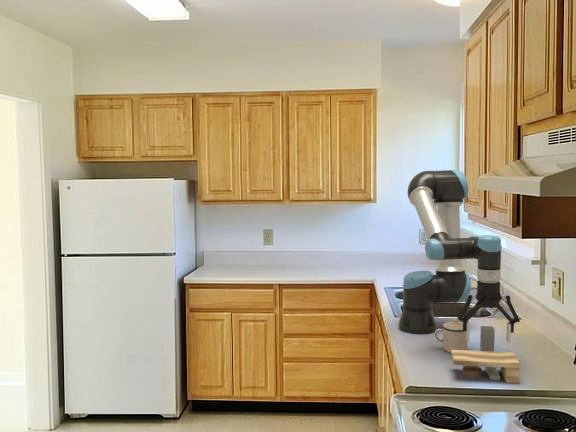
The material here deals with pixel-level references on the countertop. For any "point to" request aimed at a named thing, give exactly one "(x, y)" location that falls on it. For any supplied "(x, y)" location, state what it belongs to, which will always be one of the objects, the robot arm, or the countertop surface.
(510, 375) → the shelf
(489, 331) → the gray l-shaped block
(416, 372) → the countertop surface
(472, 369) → the coaster
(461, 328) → the teacup with lid
